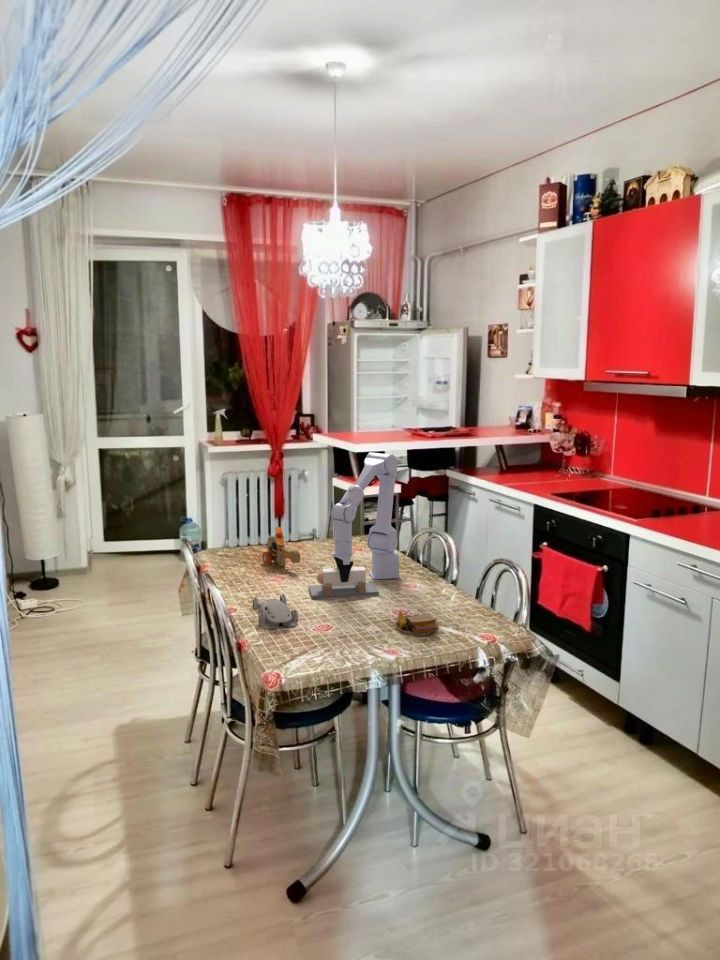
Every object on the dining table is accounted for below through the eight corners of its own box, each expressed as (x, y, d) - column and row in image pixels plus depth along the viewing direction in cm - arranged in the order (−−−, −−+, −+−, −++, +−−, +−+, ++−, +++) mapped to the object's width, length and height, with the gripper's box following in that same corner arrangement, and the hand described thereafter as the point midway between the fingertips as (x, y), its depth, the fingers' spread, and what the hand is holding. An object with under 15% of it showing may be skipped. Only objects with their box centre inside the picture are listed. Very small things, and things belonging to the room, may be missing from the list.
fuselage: (363, 580, 242) (363, 566, 241) (365, 584, 238) (365, 570, 237) (316, 583, 240) (316, 569, 239) (317, 587, 236) (317, 572, 235)
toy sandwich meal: (434, 620, 216) (434, 604, 215) (442, 637, 202) (442, 621, 202) (392, 621, 215) (392, 606, 214) (398, 639, 202) (398, 622, 201)
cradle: (373, 585, 246) (373, 573, 246) (379, 595, 236) (379, 583, 236) (309, 588, 243) (308, 577, 242) (312, 599, 233) (311, 586, 232)
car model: (285, 602, 231) (285, 587, 230) (302, 630, 208) (301, 613, 207) (250, 606, 228) (250, 590, 227) (263, 634, 205) (263, 617, 204)
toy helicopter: (279, 558, 278) (278, 524, 276) (308, 571, 262) (308, 534, 260) (260, 562, 273) (259, 527, 271) (289, 575, 257) (288, 538, 255)
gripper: (328, 534, 243) (328, 573, 245) (333, 546, 229) (334, 587, 231) (349, 533, 244) (349, 572, 246) (355, 545, 230) (356, 586, 232)
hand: (343, 579), depth 239 cm, fingers closed on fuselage, 4 cm apart
